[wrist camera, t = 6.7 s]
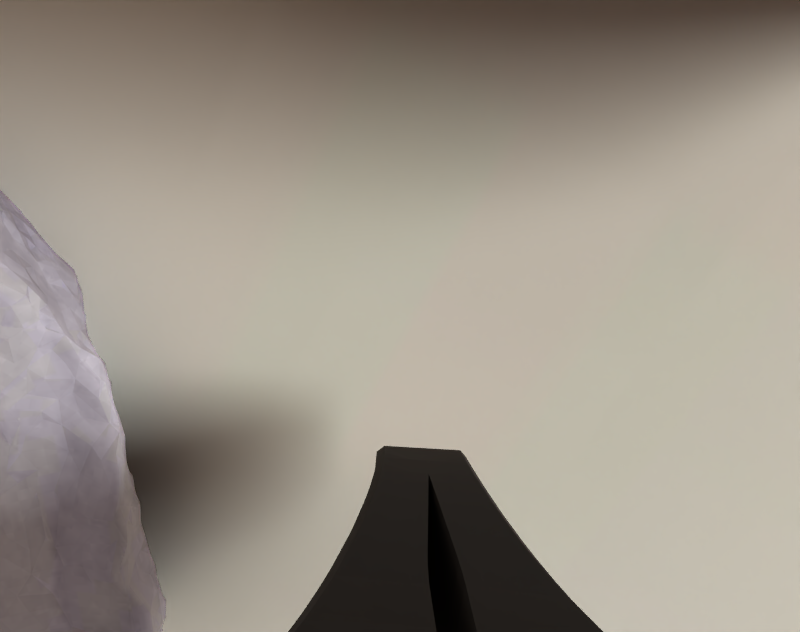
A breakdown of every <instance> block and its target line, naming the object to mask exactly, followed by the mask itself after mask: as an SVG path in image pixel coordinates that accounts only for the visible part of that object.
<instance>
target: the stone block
mask: <svg viewBox="0 0 800 632" xmlns="http://www.w3.org/2000/svg"><path fill="white" fill-rule="evenodd" d="M165 618H166V599H165V598H164V596H163V594H162V592H161V588H160V585H159V582H158V578H157V573H156V567H155V563H154V561H153V558H152V556H151V553H150V550H149V547H148V543H147V540H146V536H145V533H144V530H143V527H142V525H141V508H140V500H139V499H138V497H137V494H136V492H135V487H134V480H133V475H132V474H131V473H130V472H129V469H128V465H127V459H126V449H125V434H124V430H123V427H122V424H121V420H120V417H119V414H118V412H117V409H116V407H115V404H114V401H113V396H112V388H111V381H110V380H109V377H108V373H107V369H106V365H105V362H104V361H103V360H102V359H101V358H100V356H99V355H98V354H97V352H96V350H95V348H94V346H93V344H92V342H91V340H90V338H89V336H88V332H87V327H86V314H85V312H84V305H83V295H82V290H81V288H80V285H79V283H78V280H77V276H76V274H75V271H74V269H73V268H72V267H71V266H70V265H69V264H68V263H66V262H65V261H64V260H63V259H62V258H61V257H59V256H58V255H57V254H56V253H55V252H54V251H53V250H52V249H51V247H50V246H49V245H48V244H47V243H46V242H45V240H44V239H43V238H42V237H41V236H40V235H39V234H38V232H37V231H36V230H35V228H34V227H33V225H32V224H31V223H30V221H29V220H28V219H27V218H26V217H25V216H24V215H23V213H22V212H21V211H20V210H19V209H18V208H17V206H16V205H15V204H14V203H13V202H12V201H11V200H10V199H9V198H8V197H7V196H6V195H5V194H4V193H3V192H2V191H1V190H0V632H162V631H163V630H162V627H163V624H164V621H165Z"/></svg>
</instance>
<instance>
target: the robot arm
mask: <svg viewBox="0 0 800 632" xmlns="http://www.w3.org/2000/svg"><path fill="white" fill-rule="evenodd" d="M288 632H603V631H602V630H601V629H600V628H599V627H598V626H597V625H596V624H595V623H594V622H593V621H592V620H591V619H590V618H589V617H588V616H587V615H586V614H585V613H584V612H583V611H582V610H581V609H580V608H579V607H578V606H577V605H576V604H575V603H574V602H573V601H572V600H571V599H570V598H569V597H568V595H567V594H566V593H565V592H564V591H563V590H562V589H561V588H560V586H559V585H558V584H557V583H556V582H555V581H554V580H553V578H552V577H551V576H550V575H549V574H548V572H547V571H546V570H545V569H544V568H543V566H542V565H541V564H540V563H539V562H538V560H537V559H536V558H535V557H534V555H533V554H532V553H531V552H530V550H529V549H528V548H527V547H526V545H525V544H524V543H523V541H522V540H521V539H520V537H519V536H518V534H517V533H516V532H515V530H514V529H513V528H512V526H511V525H510V524H509V522H508V521H507V520H506V518H505V517H504V515H503V514H502V513H501V511H500V510H499V508H498V507H497V505H496V504H495V502H494V501H493V499H492V498H491V496H490V495H489V493H488V492H487V490H486V489H485V487H484V486H483V484H482V483H481V481H480V480H479V478H478V476H477V475H476V473H475V471H474V470H473V468H472V467H471V465H470V463H469V462H468V460H467V458H466V457H465V456H464V454H463V453H462V452H461V451H460V450H443V449H426V448H409V447H392V446H384V447H383V448H381V449H380V450H379V451H377V456H376V467H375V472H374V476H373V479H372V482H371V485H370V488H369V491H368V494H367V496H366V499H365V501H364V504H363V506H362V508H361V510H360V513H359V515H358V517H357V520H356V522H355V524H354V526H353V529H352V531H351V533H350V535H349V537H348V538H347V540H346V542H345V544H344V546H343V548H342V549H341V551H340V553H339V555H338V557H337V559H336V560H335V562H334V564H333V566H332V568H331V569H330V571H329V573H328V574H327V576H326V578H325V579H324V581H323V583H322V584H321V586H320V587H319V589H318V590H317V592H316V593H315V595H314V596H313V598H312V599H311V601H310V602H309V604H308V605H307V607H306V608H305V610H304V611H303V613H302V614H301V615H300V617H299V618H298V620H297V621H296V622H295V623H294V625H293V626H292V627H291V629H290V630H289V631H288Z"/></svg>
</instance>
